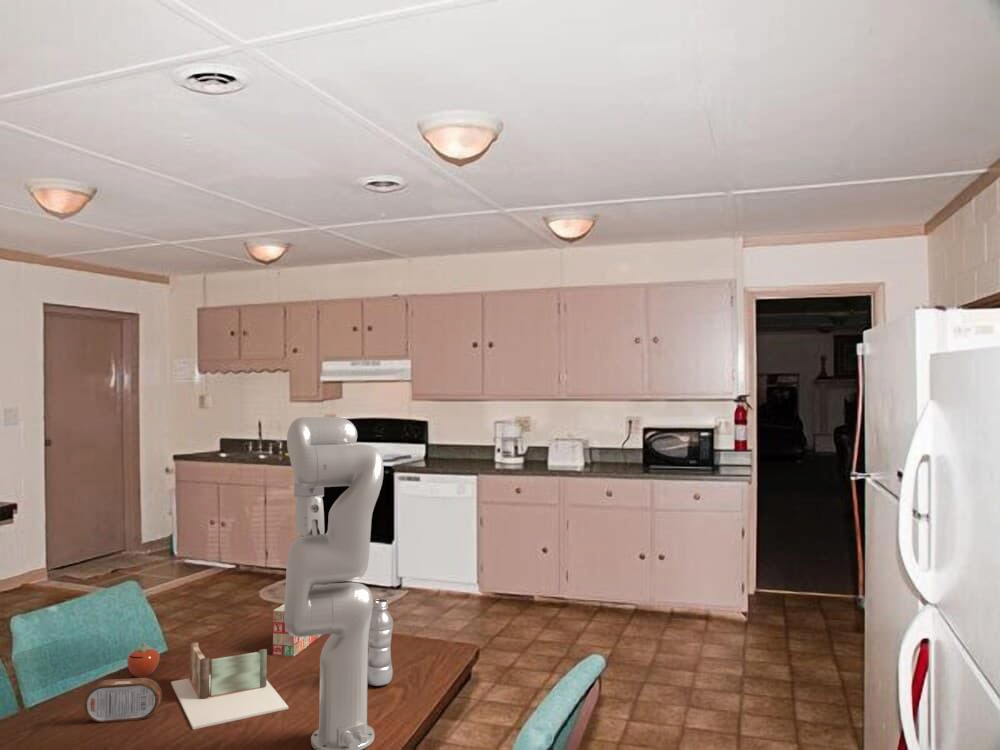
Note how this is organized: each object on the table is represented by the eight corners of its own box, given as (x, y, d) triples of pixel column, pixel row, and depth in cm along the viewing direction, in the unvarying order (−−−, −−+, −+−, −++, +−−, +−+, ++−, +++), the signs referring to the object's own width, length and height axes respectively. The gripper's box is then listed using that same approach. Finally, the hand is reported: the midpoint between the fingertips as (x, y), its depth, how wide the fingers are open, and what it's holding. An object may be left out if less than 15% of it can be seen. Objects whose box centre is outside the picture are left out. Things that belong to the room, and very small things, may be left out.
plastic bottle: (359, 686, 180) (360, 602, 180) (377, 676, 186) (377, 596, 186) (381, 691, 177) (382, 606, 177) (398, 681, 183) (399, 599, 183)
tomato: (119, 678, 183) (120, 645, 184) (141, 668, 191) (141, 636, 191) (145, 681, 182) (146, 648, 182) (166, 670, 189) (166, 638, 189)
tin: (161, 713, 164) (162, 675, 164) (158, 719, 161) (159, 680, 161) (86, 719, 160) (87, 680, 161) (81, 726, 157) (82, 685, 158)
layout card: (288, 708, 166) (288, 706, 166) (192, 729, 156) (192, 726, 156) (255, 668, 191) (255, 665, 191) (171, 683, 180) (171, 681, 180)
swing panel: (211, 696, 171) (212, 659, 171) (210, 693, 173) (210, 657, 173) (267, 686, 177) (267, 650, 178) (265, 683, 179) (265, 648, 179)
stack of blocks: (306, 631, 222) (307, 589, 222) (326, 632, 221) (327, 590, 221) (272, 655, 201) (272, 609, 201) (293, 657, 200) (294, 610, 200)
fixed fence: (209, 697, 171) (210, 660, 171) (200, 699, 170) (201, 661, 170) (197, 676, 183) (198, 641, 184) (188, 678, 182) (189, 643, 183)
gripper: (333, 493, 187) (332, 567, 186) (313, 486, 199) (312, 555, 199) (303, 495, 183) (302, 570, 182) (285, 488, 195) (284, 558, 195)
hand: (307, 562), depth 190 cm, fingers closed
